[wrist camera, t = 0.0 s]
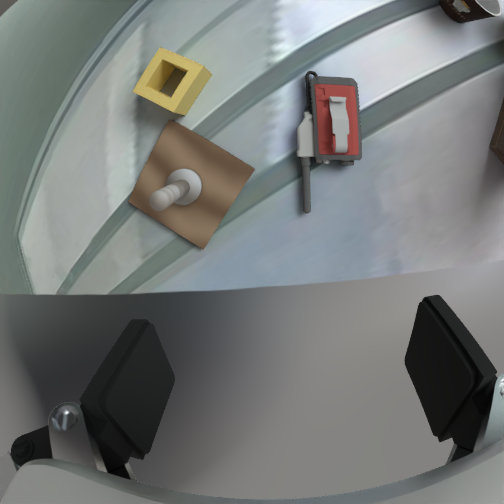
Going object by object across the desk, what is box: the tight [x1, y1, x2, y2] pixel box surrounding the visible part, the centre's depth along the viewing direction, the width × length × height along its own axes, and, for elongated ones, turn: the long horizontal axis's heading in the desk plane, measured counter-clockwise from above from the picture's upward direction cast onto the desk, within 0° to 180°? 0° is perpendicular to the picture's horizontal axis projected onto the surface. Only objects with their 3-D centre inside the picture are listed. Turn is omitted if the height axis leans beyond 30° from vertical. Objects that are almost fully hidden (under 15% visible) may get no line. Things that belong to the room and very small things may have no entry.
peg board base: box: [128, 120, 255, 249], centre depth 33 cm, size 14×14×11 cm
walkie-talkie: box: [297, 71, 362, 213], centre depth 33 cm, size 9×4×20 cm
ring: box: [133, 47, 212, 115], centre depth 30 cm, size 7×7×5 cm
